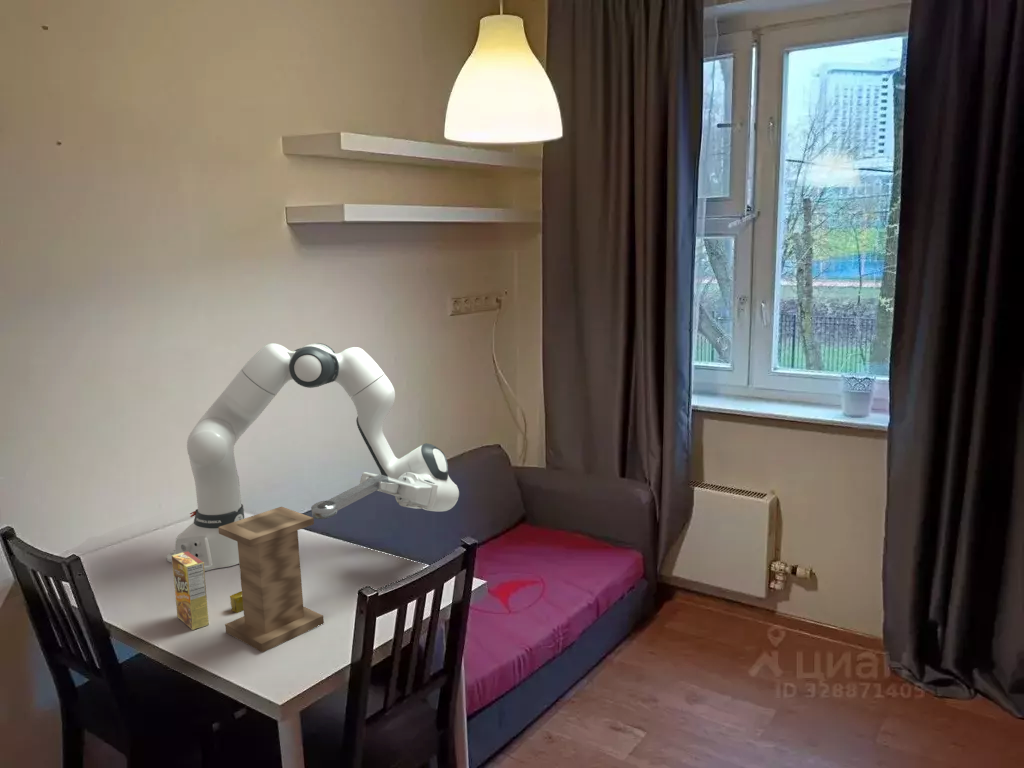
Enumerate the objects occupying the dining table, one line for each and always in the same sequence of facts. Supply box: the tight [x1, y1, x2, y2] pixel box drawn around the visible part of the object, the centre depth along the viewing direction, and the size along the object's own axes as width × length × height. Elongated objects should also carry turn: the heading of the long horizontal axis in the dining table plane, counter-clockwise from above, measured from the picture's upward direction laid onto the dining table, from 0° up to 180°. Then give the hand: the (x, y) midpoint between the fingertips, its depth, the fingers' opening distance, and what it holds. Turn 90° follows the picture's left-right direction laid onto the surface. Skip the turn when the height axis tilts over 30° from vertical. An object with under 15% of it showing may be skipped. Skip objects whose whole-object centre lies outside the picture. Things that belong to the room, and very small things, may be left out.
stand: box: [218, 506, 325, 653], centre depth 184 cm, size 16×14×25 cm
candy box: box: [171, 551, 210, 631], centre depth 189 cm, size 9×4×15 cm, turn 43°
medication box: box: [229, 590, 244, 614], centre depth 199 cm, size 12×3×4 cm, turn 140°
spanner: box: [310, 473, 389, 520], centre depth 199 cm, size 22×6×2 cm, turn 141°
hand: (372, 483), depth 204 cm, fingers closed on spanner, 3 cm apart
